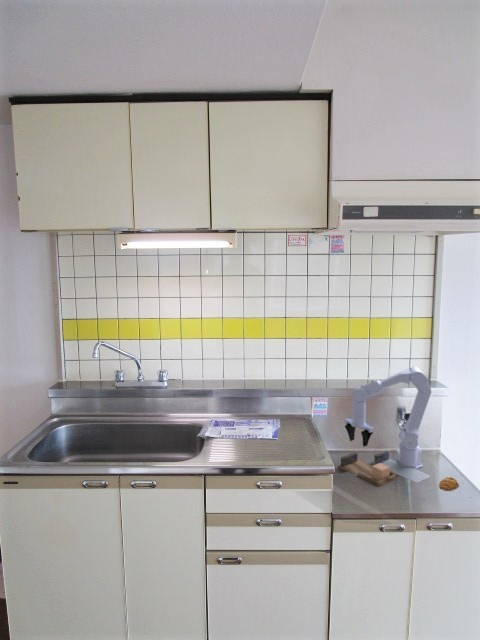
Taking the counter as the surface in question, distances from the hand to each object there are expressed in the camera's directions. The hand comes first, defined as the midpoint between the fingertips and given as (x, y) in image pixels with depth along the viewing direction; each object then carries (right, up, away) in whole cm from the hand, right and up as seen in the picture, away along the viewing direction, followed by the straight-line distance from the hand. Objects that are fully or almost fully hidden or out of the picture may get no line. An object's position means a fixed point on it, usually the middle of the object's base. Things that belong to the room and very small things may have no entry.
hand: (358, 443), depth 193 cm
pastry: (+30, -12, -23) cm, 39 cm away
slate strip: (+16, -10, -9) cm, 21 cm away
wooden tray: (+1, -11, -10) cm, 15 cm away
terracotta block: (+5, -10, -16) cm, 20 cm away
